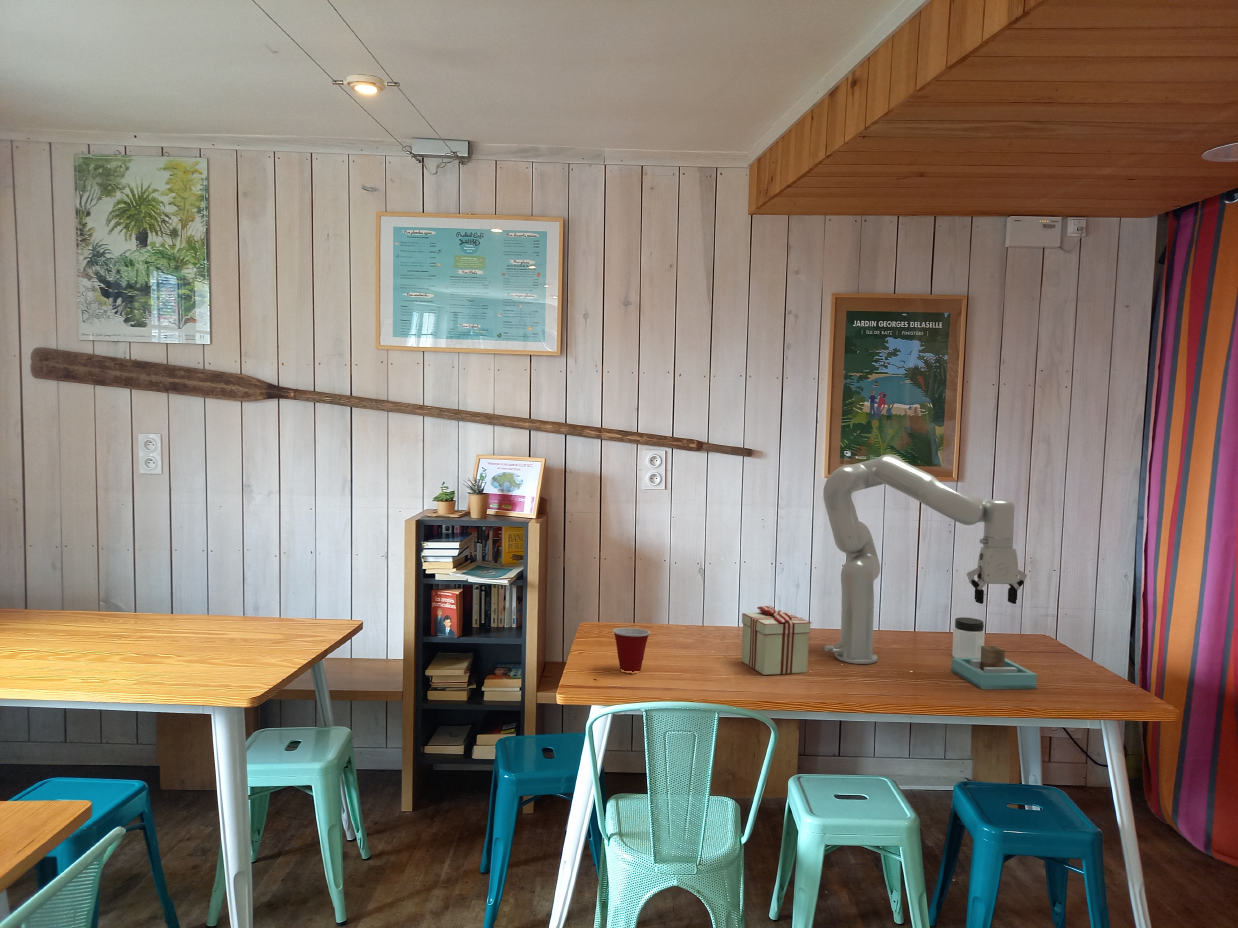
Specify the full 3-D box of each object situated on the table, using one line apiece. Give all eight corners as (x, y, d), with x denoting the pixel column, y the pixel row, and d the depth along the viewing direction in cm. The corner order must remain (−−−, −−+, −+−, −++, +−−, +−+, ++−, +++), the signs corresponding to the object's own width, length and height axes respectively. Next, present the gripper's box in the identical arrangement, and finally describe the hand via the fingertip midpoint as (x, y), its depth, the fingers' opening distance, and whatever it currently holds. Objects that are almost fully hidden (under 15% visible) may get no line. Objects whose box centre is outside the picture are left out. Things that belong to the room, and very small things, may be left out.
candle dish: (980, 689, 215) (981, 672, 215) (951, 671, 231) (952, 656, 231) (1036, 688, 217) (1037, 672, 216) (1003, 670, 233) (1004, 655, 232)
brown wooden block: (988, 678, 222) (989, 650, 222) (980, 673, 226) (981, 645, 226) (1003, 678, 222) (1004, 650, 222) (995, 673, 227) (996, 645, 226)
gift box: (819, 671, 229) (821, 612, 228) (766, 677, 222) (768, 617, 221) (786, 655, 245) (787, 600, 244) (734, 661, 238) (736, 604, 237)
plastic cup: (655, 668, 228) (656, 627, 228) (640, 678, 219) (641, 636, 218) (621, 663, 233) (622, 623, 232) (605, 673, 223) (606, 631, 223)
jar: (971, 663, 239) (973, 624, 239) (947, 656, 246) (949, 619, 246) (988, 659, 244) (990, 621, 244) (964, 652, 251) (965, 615, 250)
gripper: (975, 544, 218) (973, 605, 219) (1035, 545, 219) (1032, 605, 220) (962, 540, 225) (959, 599, 226) (1019, 541, 227) (1016, 600, 227)
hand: (995, 602), depth 223 cm, fingers open, 9 cm apart
